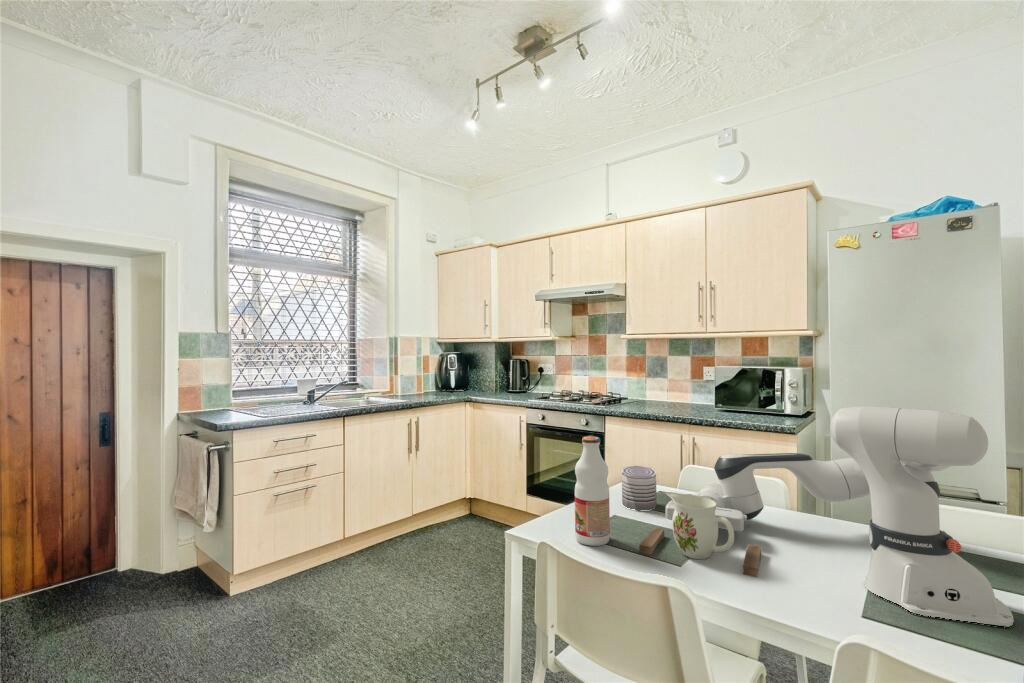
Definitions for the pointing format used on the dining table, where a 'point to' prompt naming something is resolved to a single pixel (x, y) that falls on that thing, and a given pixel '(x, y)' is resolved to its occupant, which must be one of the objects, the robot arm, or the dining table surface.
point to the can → (639, 488)
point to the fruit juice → (592, 496)
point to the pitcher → (697, 526)
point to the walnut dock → (750, 560)
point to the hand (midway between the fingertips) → (699, 524)
